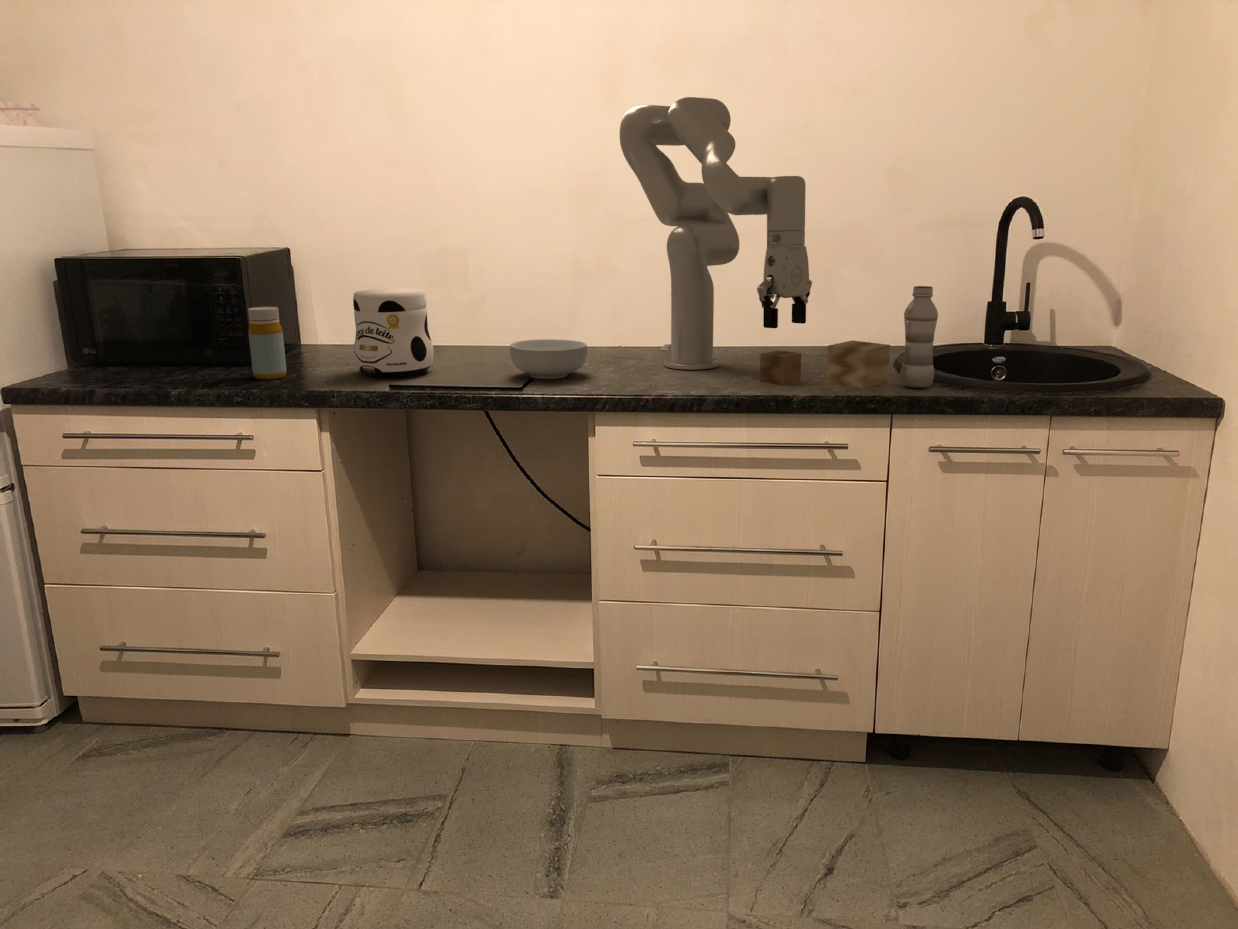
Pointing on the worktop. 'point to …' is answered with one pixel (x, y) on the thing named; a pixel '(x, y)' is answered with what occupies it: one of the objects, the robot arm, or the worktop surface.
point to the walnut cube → (780, 367)
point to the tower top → (858, 355)
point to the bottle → (266, 343)
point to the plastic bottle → (919, 339)
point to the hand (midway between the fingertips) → (784, 325)
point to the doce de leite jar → (391, 332)
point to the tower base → (856, 376)
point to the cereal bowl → (548, 357)
